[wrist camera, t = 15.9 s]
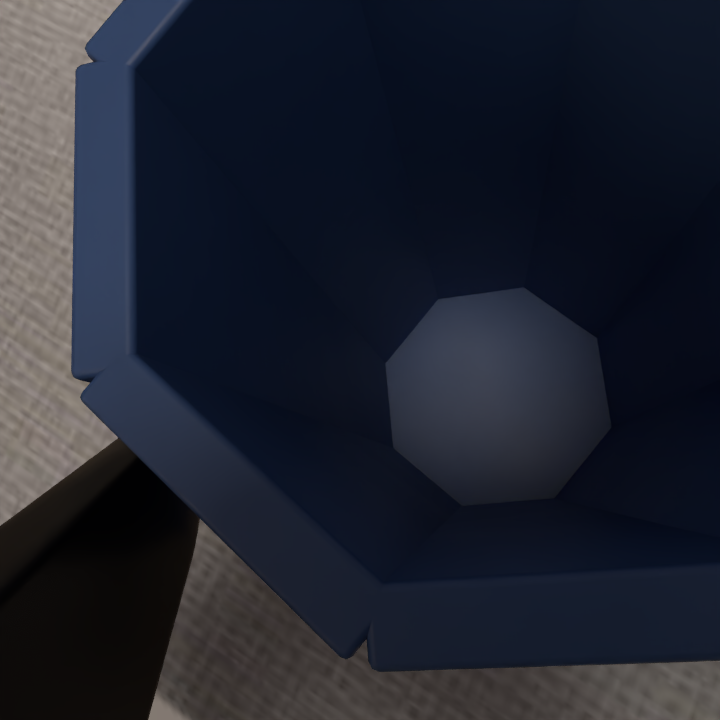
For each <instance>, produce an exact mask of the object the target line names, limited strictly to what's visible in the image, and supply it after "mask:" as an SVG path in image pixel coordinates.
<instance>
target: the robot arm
mask: <svg viewBox="0 0 720 720" xmlns="http://www.w3.org/2000/svg"><path fill="white" fill-rule="evenodd" d="M199 520H200V518H199V517H198V516H197V515H196V514H195V513H194V512H193V511H192V510H191V509H190V508H189V507H188V506H187V505H186V504H185V503H184V502H183V501H182V500H181V499H180V498H179V497H178V496H177V495H176V494H175V493H174V492H173V491H172V490H171V489H170V488H169V487H168V486H167V485H166V484H165V483H164V482H163V481H162V480H161V479H160V478H159V477H158V476H157V475H156V474H155V473H154V472H153V471H152V470H151V469H150V468H149V467H148V466H147V465H146V464H145V463H144V462H143V461H142V460H141V459H140V458H139V457H138V456H137V455H136V454H135V453H134V452H133V451H132V450H131V449H130V448H129V447H128V446H127V445H126V444H125V443H123V442H122V441H121V440H120V439H119V438H118V439H117V440H115V441H114V442H113V443H111V444H110V445H109V446H107V447H106V448H105V449H103V450H102V451H101V452H99V453H98V454H97V455H95V456H94V457H93V458H91V459H90V460H88V461H87V462H86V463H84V464H83V465H82V466H80V467H79V468H78V469H76V470H75V471H74V472H72V473H71V474H70V475H68V476H67V477H66V478H64V479H63V480H62V481H60V482H59V483H58V484H56V485H55V486H54V487H52V488H51V489H50V490H48V491H47V492H45V493H44V494H43V495H41V496H40V497H39V498H37V499H36V500H35V501H33V502H32V503H31V504H29V505H28V506H27V507H25V508H24V509H23V510H21V511H20V512H19V513H17V514H16V515H15V516H13V517H12V518H11V519H9V520H8V521H6V522H5V523H4V524H2V525H1V526H0V720H148V718H149V714H150V710H151V707H152V703H153V700H154V696H155V692H156V689H157V685H158V681H159V678H160V674H161V670H162V667H163V663H164V659H165V656H166V652H167V648H168V645H169V641H170V637H171V634H172V630H173V627H174V623H175V619H176V616H177V612H178V608H179V605H180V601H181V597H182V594H183V590H184V586H185V583H186V579H187V575H188V572H189V568H190V564H191V561H192V557H193V553H194V548H195V544H196V538H197V533H198V527H199Z"/></svg>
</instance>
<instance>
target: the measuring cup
mask: <svg viewBox="0 0 720 720" xmlns="http://www.w3.org/2000/svg"><path fill="white" fill-rule="evenodd" d="M85 50H86V52H87V54H88V56H89V57H90V58H91V59H92V60H93V62H92V63H88V64H83V65H80V66H79V67H77V70H76V86H75V155H74V225H73V294H72V363H71V371H72V374H73V377H74V378H76V379H79V380H82V381H86V382H90V384H89V385H88V386H87V387H86V389H85V390H84V391H83V392H82V394H81V397H80V398H81V400H82V402H83V403H84V404H85V405H86V406H87V407H88V408H89V409H90V410H91V411H92V412H93V413H94V414H95V415H96V416H97V417H98V418H99V419H100V420H101V421H102V422H103V423H104V424H105V425H106V426H107V427H108V428H109V429H110V430H111V431H112V432H113V433H114V434H115V435H116V436H117V437H118V438H119V439H120V440H121V441H122V442H123V443H125V444H126V445H127V446H128V447H129V448H130V449H131V450H132V451H133V452H134V453H135V454H136V455H137V456H138V457H139V458H140V459H141V460H142V461H143V462H144V463H145V464H146V465H147V466H148V467H149V468H150V469H151V470H152V471H153V472H154V473H155V474H156V475H157V476H158V477H159V478H160V479H161V480H162V481H163V482H164V483H165V484H166V485H167V486H168V487H169V488H170V489H171V490H172V491H173V492H174V493H175V494H176V495H177V496H178V497H179V498H180V499H181V500H182V501H183V502H184V503H185V504H186V505H187V506H188V507H189V508H190V509H191V510H192V511H193V512H194V513H195V514H196V515H197V516H198V517H199V518H200V519H201V520H202V521H203V522H204V523H205V524H206V525H207V526H208V527H209V528H210V529H211V530H212V531H213V532H214V533H215V534H216V535H217V536H218V537H219V538H220V539H221V540H222V541H223V542H224V543H225V544H226V545H227V546H228V547H229V548H230V549H232V550H233V551H234V552H235V553H236V554H237V555H238V556H239V557H240V558H241V559H242V560H243V561H244V562H245V563H246V564H247V565H248V566H249V567H250V568H251V569H252V570H253V571H254V572H255V573H256V574H257V575H258V576H259V577H260V578H261V579H262V580H263V581H264V582H265V583H266V584H267V585H268V586H269V587H270V588H271V589H272V590H273V591H274V592H275V593H276V594H277V595H278V596H279V597H280V598H281V599H282V600H283V601H284V602H285V603H286V604H287V605H288V606H289V607H290V608H291V609H292V610H293V611H294V612H295V613H296V614H297V615H298V616H299V617H300V618H301V619H302V620H303V621H304V622H305V623H306V624H307V625H308V626H309V627H310V628H311V629H312V630H313V631H314V632H315V633H316V634H317V635H318V636H319V637H320V638H321V639H322V640H323V641H324V642H325V643H326V644H327V645H328V646H329V647H330V648H331V649H332V650H333V651H334V652H335V653H336V654H337V655H339V656H340V657H342V658H344V659H348V658H350V657H352V656H353V655H354V654H355V653H356V651H357V650H358V649H359V648H360V646H361V645H362V644H363V643H364V641H365V640H366V639H367V650H368V661H369V663H370V665H371V668H372V669H373V670H376V671H379V672H395V671H425V670H456V669H486V668H517V667H547V666H578V665H608V664H639V663H670V662H700V661H720V0H123V1H122V3H121V4H120V5H119V6H118V7H117V8H116V10H115V11H114V12H113V13H112V14H111V16H110V17H109V18H108V19H107V20H106V21H105V23H104V24H103V25H102V26H101V27H100V29H99V30H98V31H97V32H96V33H95V35H94V36H93V37H92V38H91V39H90V40H89V42H88V43H87V44H86V47H85Z"/></svg>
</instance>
